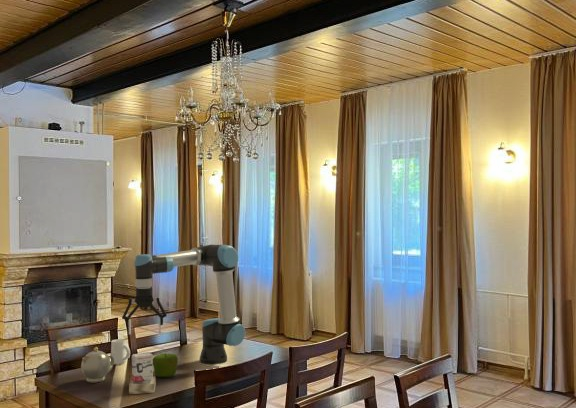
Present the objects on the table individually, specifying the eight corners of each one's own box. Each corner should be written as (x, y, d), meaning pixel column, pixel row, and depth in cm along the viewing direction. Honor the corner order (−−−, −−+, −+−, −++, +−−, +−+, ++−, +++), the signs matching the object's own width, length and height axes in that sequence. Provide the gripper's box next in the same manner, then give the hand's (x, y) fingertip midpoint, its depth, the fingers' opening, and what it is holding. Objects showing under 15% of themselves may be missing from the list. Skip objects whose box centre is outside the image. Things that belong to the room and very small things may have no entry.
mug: (124, 365, 308) (124, 343, 308) (107, 363, 314) (107, 341, 314) (135, 362, 315) (134, 340, 316) (118, 360, 321) (118, 338, 321)
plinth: (155, 384, 272) (155, 375, 273) (154, 392, 260) (154, 382, 260) (131, 385, 271) (131, 376, 271) (129, 394, 258) (129, 384, 258)
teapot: (91, 386, 270) (91, 351, 270) (74, 382, 278) (74, 348, 278) (122, 378, 284) (122, 344, 285) (105, 373, 292) (105, 341, 293)
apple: (150, 374, 290) (150, 352, 290) (174, 371, 295) (174, 349, 295) (155, 381, 278) (155, 357, 279) (180, 377, 283) (180, 354, 283)
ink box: (135, 382, 261) (135, 356, 261) (131, 380, 265) (131, 354, 265) (153, 379, 266) (153, 353, 266) (149, 377, 270) (149, 351, 270)
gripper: (171, 285, 274) (172, 329, 274) (117, 287, 270) (118, 333, 269) (171, 287, 267) (172, 333, 266) (115, 289, 262) (116, 336, 262)
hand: (144, 333), depth 268 cm, fingers open, 13 cm apart
